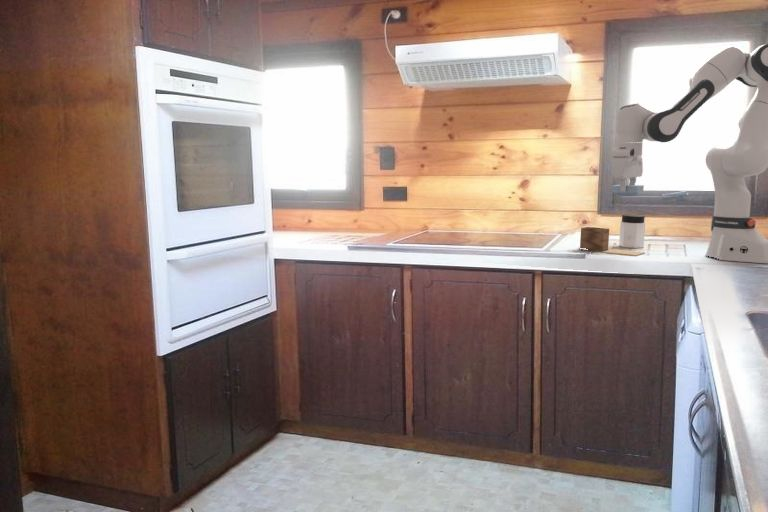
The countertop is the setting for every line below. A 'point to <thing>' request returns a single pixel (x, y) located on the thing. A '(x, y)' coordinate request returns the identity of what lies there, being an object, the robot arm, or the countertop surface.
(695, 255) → the countertop surface
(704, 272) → the countertop surface
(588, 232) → the box
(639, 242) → the jar
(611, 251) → the mat
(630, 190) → the lid
